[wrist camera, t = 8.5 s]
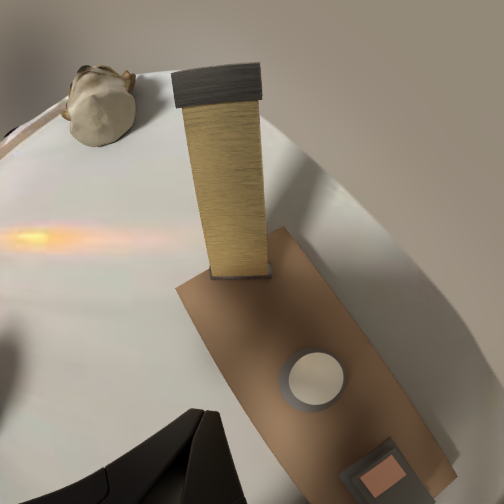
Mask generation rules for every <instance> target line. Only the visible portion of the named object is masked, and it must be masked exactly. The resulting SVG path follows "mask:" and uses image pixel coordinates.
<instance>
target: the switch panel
mask: <svg viewBox="0 0 504 504" xmlns="http://www.w3.org/2000/svg"><path fill="white" fill-rule="evenodd" d="M267 250H268V262H271V263H272V279H258V280H210V275H209V269H208V270H206V271H204V272H203V273H201V274H199V275H197V276H196V277H194V278H192V279H191V280H189V281H187V282H185V283H184V284H182V285H180V286H178V287H177V288H175V289H176V291H177V293H178V295H179V297H180V299H181V301H182V303H183V304H184V306H185V308H186V310H187V312H188V314H189V316H190V318H191V320H192V322H193V323H194V325H195V327H196V329H197V331H198V333H199V335H200V336H201V338H202V340H203V342H204V344H205V345H206V347H207V349H208V351H209V352H210V354H211V356H212V358H213V359H214V361H215V363H216V365H217V366H218V368H219V370H220V371H221V373H222V375H223V377H224V378H225V380H226V382H227V383H228V385H229V387H230V388H231V390H232V391H233V393H234V395H235V396H236V398H237V400H238V401H239V403H240V404H241V406H242V408H243V409H244V411H245V412H246V414H247V415H248V417H249V419H250V420H251V422H252V423H253V425H254V426H255V428H256V429H257V431H258V432H259V434H260V435H261V437H262V438H263V440H264V441H265V443H266V444H267V446H268V447H269V449H270V450H271V451H272V453H273V454H274V456H275V457H276V459H277V460H278V461H279V463H280V464H281V466H282V467H283V468H284V470H285V471H286V473H287V474H288V475H289V477H290V478H291V479H292V481H293V482H294V483H295V485H296V486H297V487H298V489H299V490H300V491H301V493H302V494H303V495H304V496H305V498H306V499H307V500H308V502H309V503H310V504H368V502H367V501H366V500H365V498H364V497H363V496H362V495H361V493H360V492H359V491H358V489H357V488H356V487H355V485H354V484H353V483H352V481H351V480H350V479H349V476H350V475H352V474H353V473H355V472H356V471H358V470H359V469H361V468H362V467H364V466H365V465H366V464H368V463H369V462H371V461H372V460H373V459H375V458H376V457H377V456H379V455H380V454H381V453H383V452H384V451H385V450H387V449H388V448H389V447H395V448H396V449H397V451H398V452H399V453H400V455H401V456H402V457H403V459H404V460H405V461H406V463H407V464H408V465H409V467H410V468H411V469H412V471H413V472H414V473H415V475H416V476H417V477H418V479H419V480H420V481H421V483H422V484H423V485H424V487H425V488H426V489H427V491H428V492H429V493H430V495H431V496H432V497H433V498H435V497H436V496H437V495H438V494H439V493H440V492H441V491H443V490H444V489H445V488H446V487H447V486H448V485H449V484H450V483H451V482H452V481H453V480H454V479H456V478H457V477H458V476H457V475H456V473H455V471H454V470H453V468H452V466H451V465H450V463H449V461H448V460H447V458H446V456H445V455H444V453H443V452H442V450H441V448H440V447H439V445H438V443H437V442H436V440H435V439H434V437H433V436H432V434H431V432H430V431H429V429H428V428H427V426H426V425H425V423H424V421H423V420H422V418H421V417H420V415H419V414H418V412H417V411H416V409H415V408H414V406H413V405H412V403H411V402H410V400H409V399H408V397H407V396H406V394H405V393H404V391H403V390H402V388H401V387H400V385H399V384H398V382H397V381H396V379H395V378H394V376H393V375H392V373H391V372H390V370H389V369H388V367H387V366H386V365H385V363H384V362H383V360H382V359H381V357H380V356H379V354H378V353H377V352H376V350H375V349H374V347H373V346H372V344H371V343H370V342H369V340H368V339H367V337H366V336H365V335H364V333H363V332H362V330H361V329H360V328H359V326H358V325H357V323H356V322H355V321H354V319H353V318H352V316H351V315H350V314H349V312H348V311H347V310H346V308H345V307H344V305H343V304H342V303H341V301H340V300H339V299H338V297H337V296H336V295H335V293H334V292H333V290H332V289H331V288H330V286H329V285H328V284H327V282H326V281H325V280H324V278H323V277H322V276H321V274H320V273H319V272H318V270H317V269H316V268H315V266H314V265H313V264H312V263H311V261H310V260H309V259H308V257H307V256H306V255H305V253H304V252H303V251H302V249H301V248H300V247H299V246H298V244H297V243H296V242H295V240H294V239H293V238H292V237H291V235H290V234H289V233H288V231H287V230H286V229H285V228H284V226H283V227H281V228H280V229H278V230H276V231H274V232H273V233H271V234H269V235H267ZM311 353H325V354H328V355H330V356H332V357H333V358H334V359H336V360H337V362H338V363H339V364H340V366H341V368H342V371H343V384H342V387H341V390H340V391H339V393H338V394H337V395H336V396H335V397H334V398H333V399H332V400H330V401H329V402H327V403H324V404H320V405H311V404H307V403H304V402H302V401H300V400H299V399H297V398H296V397H295V396H294V395H293V393H292V392H291V389H290V386H289V375H290V372H291V369H292V368H293V366H294V365H295V363H296V362H297V361H298V360H299V359H300V358H302V357H303V356H305V355H308V354H311Z"/></svg>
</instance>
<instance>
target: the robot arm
mask: <svg viewBox="0 0 504 504" xmlns="http://www.w3.org/2000/svg"><path fill="white" fill-rule="evenodd" d="M20 504H247V501H246V498H245V497H244V493H243V490H242V487H241V484H240V481H239V478H238V475H237V472H236V468H235V465H234V462H233V459H232V455H231V452H230V449H229V445H228V442H227V438H226V435H225V431H224V428H223V424H222V421H221V417H220V413H219V412H217V411H209V410H206V411H204V410H201V409H193V408H191V409H189V410H188V411H186V412H185V413H184V414H182V415H181V416H179V417H178V418H177V419H175V420H174V421H173V422H171V423H170V424H168V425H167V426H166V427H164V428H163V429H161V430H160V431H158V432H157V433H156V434H154V435H153V436H151V437H150V438H148V439H147V440H145V441H144V442H142V443H141V444H139V445H138V446H136V447H135V448H133V449H132V450H130V451H129V452H127V453H126V454H124V455H123V456H121V457H119V458H118V459H116V460H115V461H113V462H111V463H110V464H108V465H107V466H105V468H104V467H103V468H101V469H99V470H98V471H96V472H94V473H93V474H91V475H89V476H87V477H85V478H83V479H81V480H80V481H78V482H75V483H73V484H71V485H69V486H66V487H64V488H62V489H59V490H57V491H54V492H52V493H49V494H46V495H43V496H41V497H38V498H35V499H32V500H29V501H26V502H23V503H20Z"/></svg>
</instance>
